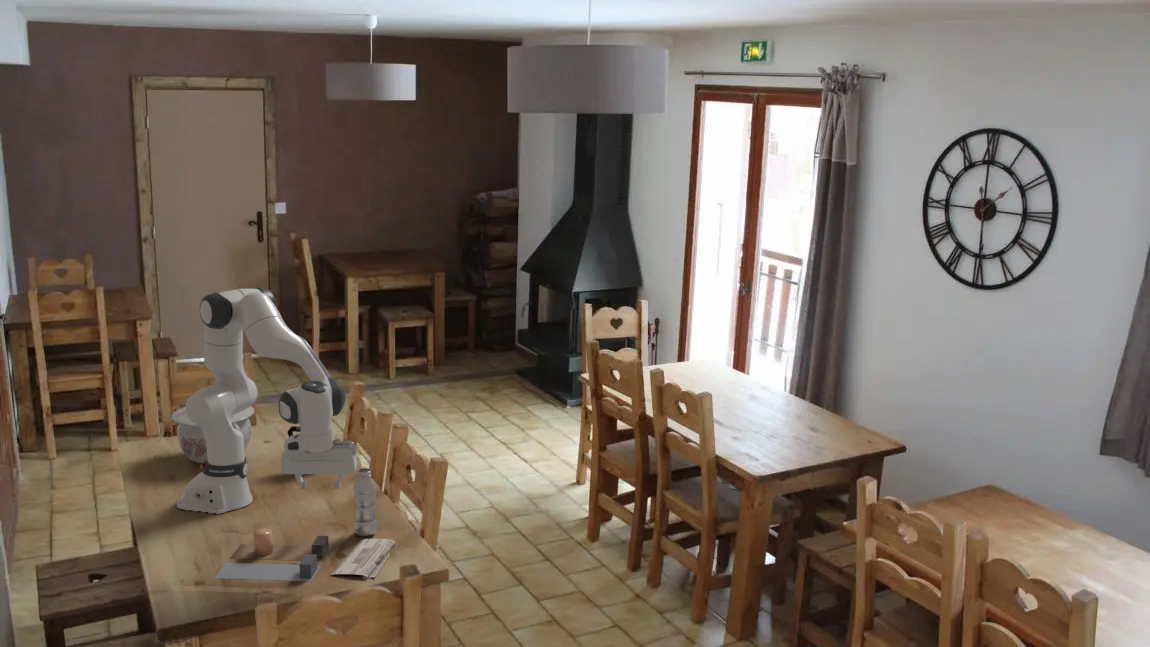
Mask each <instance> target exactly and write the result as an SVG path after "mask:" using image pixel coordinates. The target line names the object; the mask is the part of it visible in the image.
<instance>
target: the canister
mask: <svg viewBox="0 0 1150 647" xmlns="http://www.w3.org/2000/svg"><path fill="white" fill-rule="evenodd" d="M252 536H253V537H252V538H253V544H254V553H255V555H257V556H266V555H269V554H271V553H272V552H273V545H274V542H273V530H272V528H266V527H264V528H258V529H255V530H254V531H253V535H252Z"/></svg>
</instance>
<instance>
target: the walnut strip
mask: <svg viewBox="0 0 1150 647" xmlns="http://www.w3.org/2000/svg"><path fill="white" fill-rule="evenodd" d="M331 549H332V546H330V545H329V535H317V536H316V537H315V539H314V541H313V542H312V543H311V545H287V544H286V545H285V544H273V552H272V553H271V554H269V555H266V556H257V555H255V553H254V543H249V544H248V543H240V544H239V546H238V547H237V549H236V550H235V551H234V552H233V553H232V555H231V556H230V557H229V559H230V560H231V559H234V560H235V559H237V560H260V561H261V560H266V561H267V560H269V561H292V562H293V561H295V562H297V561H298V562H299V561H300V562H301V561H302V559H303V558H304V556H305V555H306V554H317V562H324V561H325V560H326V558H327V556H328V554H329V553H330V551H331Z"/></svg>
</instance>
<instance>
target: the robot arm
mask: <svg viewBox="0 0 1150 647" xmlns="http://www.w3.org/2000/svg"><path fill="white" fill-rule="evenodd" d="M280 313H281V312H279V310H278V308H277V302H276V297H275V296H274V294H273V293H272V291H271V290H270V289H268V288H265V287H255V288H235V289H231V290H225V291H221V292H212V293H210V294H207V295H205V296H204V297H202V299H201V302H200V305H199V314H200V319H201V322H202V323H204V325H205V328H204V344H203V346H204V347H203V348H204V349H203V351H204V352H203V364H204V365H205V367H206V368H207V369H208V370H209V371H211V372H213V374H214V384H212V385H209V386H207V387H204V388H201V389H199V390H197V391H196V392H194V393H193V394H192V395H191V396H190V397H189V396H188V398H187V400H186V402H185V406H184V407H185V409H186V414H187V416H188V418H189V419H190V420H191V421H192V422H193V423H194V424H196V425H198V426H199V427H200V428H201V430H202V432H203V434H204V437H205V441H206V449H207V457H206V458H205V461H203V462H202V464H200V466H199V470H202V471H201V472H199V473H198V474H197V475H196V476H194V477H193V478H191V480H190V481H189V482H187V484H186V486H185V488H184V492H183V494H182V495H181V497H180V498H178V500H177V502H176V508H180V509H187V510H186V511H189V510H194V511H193V512H197V511H202V512H201V513H205V512H208V513H207V514H214V513H216V515H220V514H224V513H226V512H230V511H235V510H238V509H241V508H244V507H246V506H248V505H251V503H252V502H253V499H254V498H253V496H252V492H251V490H250V487H249V481H248V477H247V476H248V464H247V463H248V462H247V457H246V453H245V451H244V437H243V434H242V433H241V432H240V431H239V430H237V429H235V428H233V426H232V422H231V416H232V415H235V414H237V413H239V412H242V411H244V410H246V409H247V408H248V407H249V406H252V405H253V404H254V403H255V402H256V401H257V398H258V387H257V386H256V384H255V382H254V381H253V379H251V378H249V377H248V376H247V373H246V371H245V368H244V361H243V360H244V359H243V358H244V354H243V353H244V352H243V351H244V349H243V347H244V334H245V337H246V339H247V341H248V343H249V345H250V347H251V348H252V350H254V351H255V353H257V354H258V355H260V356H263V357H265V358H270V359H276V360H277V359H278V360H279V359H280V360H284V361H285V360H286V361H290V362H293V363H295V364H297V365H299V366H300V368H302V370H303V372H304V373H305V374H306V376H307V377H308V379H309V380H308V381H305V382H302V383H300V385H299V387H295V388H290V389H287V390H285V391H283V393H281V395H280V397H279V400H278V403H277V405H278V413H279V415H280V418H281V419H283V420H284V422H286V423H288V424H291V425H299V426H301V431H300V432H298V433H296V434H293V435H292V436H290V437H289V436H288V437H287V439H286V440H285V441H284V443H283V450H284V451H283V452H282V454H281V464H280V466H281V467H280V468H281V472H282V473H283V474H284V475H295V477H294V478H295V480H296V481H297V482H298V483H299V486H300V487H299V488H300V489H302V490H305V489H306V490H307V488H308V481H307V480H304V478H303V477H302V476H303V475H337V477H338V478H339V479H338V480H335V482H334V484H333V485H334V489H335V490H338V489H339V490H340V489H342V480H343V479H344V477H345V475H353V474H354V473H355V472H356V471H357V468H358V461H357V445H356V443H355V442H353V441H351V440H349V439H347V440H335V426H334V425H333V417H336V416H338V415H339V414H340V413H341V412H342V411H343V408H344V406H345V404H346V395H345V394H346V393H345V391H344V388H342V386H341V385H340V384H339V383H338V382H337V381H336V380H335V379H334V378H333V376H332V375H331V374H330V373H329V371H328V370H327V367H326V366H325V365H324V363H323V362H322V361H321V360H320V357H319V356H318V355H317V354H316V352H315V351H314V350H313V348H312V347H311V345H310V344H309V343H308V341H307V340H306V339H305V338H304V337H302V336H300V335H298V334H296V333H295V332H294V331H293V330H291V329H290V328H289V327H288V326H287V324H286V323H285V321H284V319H283V317H282V315H281V314H280ZM243 332H244V333H243ZM180 509H179V510H180Z"/></svg>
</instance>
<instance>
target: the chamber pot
mask: <svg viewBox="0 0 1150 647" xmlns="http://www.w3.org/2000/svg"><path fill="white" fill-rule="evenodd" d="M254 414H255V408H254V407H253V406H252V405H251V406H249V407H248V408H247V409H246V410H244V411H242V412H239V413H237V414H235V415H232V416H231V422H232V426H233V428H235V429H237V430H239V431H240V432H241V433H242V434H243V437H244V452H245V451H246V449H247V448H248V446H249V443H250V440H251V437H252V436H251V434H252V423H251V422H252V421H251V420H250V419H249V418H250V417H252V415H254ZM170 419H171V420H172V422H174V423H175V424H177V427H176V428H177V429H176V436H177V437H176V438H177V441H178V444H179V448H180V449H181V451H183V453H184V454H185V455H186V457H187V458H188V459H189V460H190V461H191V460H192V462H193V461H194V462H193V463H195V462H197V463H196V464H199V463H202V462H203V461H205V458H206V457H207V449H206V441H205V437H204V434H203V432H202V430H201V428H200V427H199V426H198V425H196V424H194V423H193V422H192V421H191V420H190V419H189V418H188V416H187V414H186V409H185V406H184V407H181V408H179V409H177V410H176V411H174V412H173V413H172V414H171V418H170Z"/></svg>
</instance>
